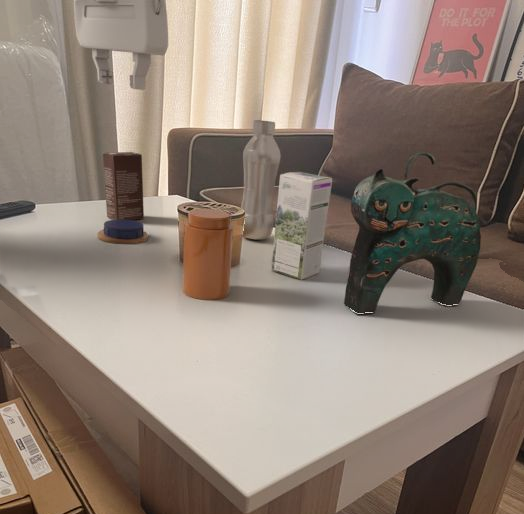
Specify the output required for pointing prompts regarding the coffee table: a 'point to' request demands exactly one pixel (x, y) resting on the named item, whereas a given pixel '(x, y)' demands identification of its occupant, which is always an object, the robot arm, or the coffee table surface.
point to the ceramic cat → (410, 237)
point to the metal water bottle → (260, 180)
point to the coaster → (121, 241)
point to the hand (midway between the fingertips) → (120, 86)
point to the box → (123, 185)
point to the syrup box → (300, 224)
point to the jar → (207, 254)
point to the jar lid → (123, 229)
